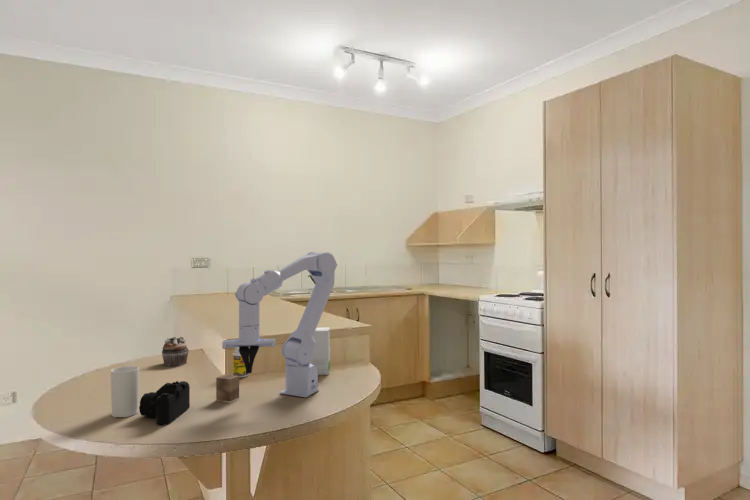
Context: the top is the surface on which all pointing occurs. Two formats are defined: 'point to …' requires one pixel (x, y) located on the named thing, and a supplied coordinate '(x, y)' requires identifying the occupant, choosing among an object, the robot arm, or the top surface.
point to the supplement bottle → (238, 365)
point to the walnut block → (227, 388)
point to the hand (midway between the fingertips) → (249, 372)
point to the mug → (124, 391)
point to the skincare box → (322, 350)
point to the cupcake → (175, 352)
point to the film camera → (166, 402)
